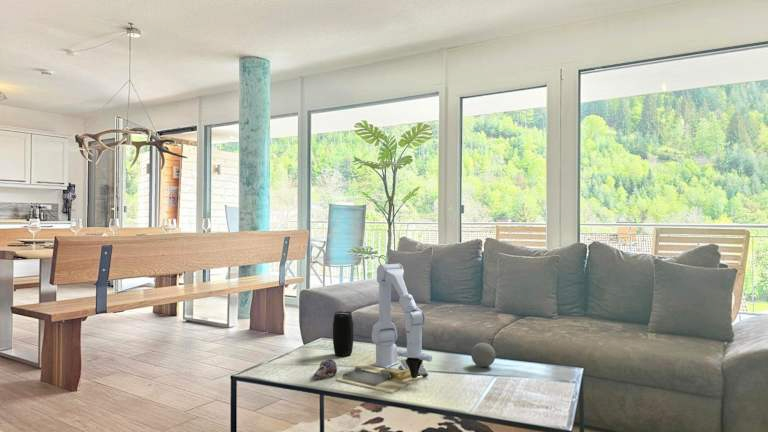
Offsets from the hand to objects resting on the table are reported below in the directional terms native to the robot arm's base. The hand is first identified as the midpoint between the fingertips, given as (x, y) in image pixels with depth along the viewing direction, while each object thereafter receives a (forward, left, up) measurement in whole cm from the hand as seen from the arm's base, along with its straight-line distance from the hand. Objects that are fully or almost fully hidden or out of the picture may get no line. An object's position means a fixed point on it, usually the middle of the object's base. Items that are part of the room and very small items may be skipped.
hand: (414, 377), depth 200 cm
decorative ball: (-33, +14, -2) cm, 36 cm away
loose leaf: (0, -9, -1) cm, 9 cm away
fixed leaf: (+9, -16, -1) cm, 18 cm away
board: (+5, -12, -1) cm, 14 cm away
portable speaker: (-15, -47, -2) cm, 49 cm away
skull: (+15, -33, -2) cm, 36 cm away
